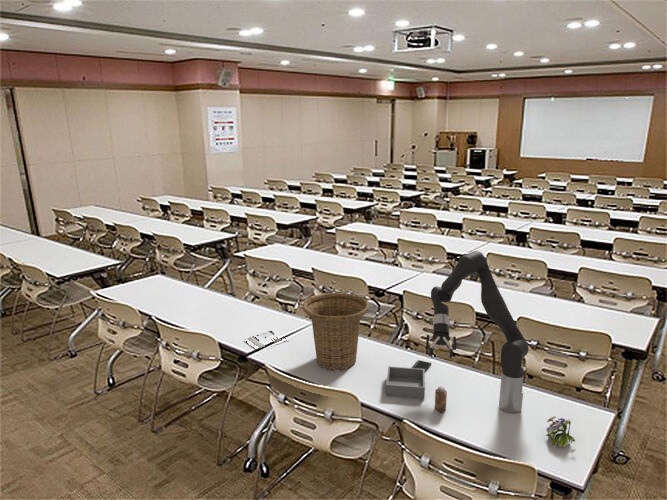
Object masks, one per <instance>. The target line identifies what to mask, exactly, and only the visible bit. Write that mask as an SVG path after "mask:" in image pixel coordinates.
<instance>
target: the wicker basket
mask: <svg viewBox="0 0 667 500" xmlns="http://www.w3.org/2000/svg"><path fill="white" fill-rule="evenodd" d="M369 305H370V304H369V302H368V301H367V300H366V299H365V298H363V297H361V296H358V295H357V294H356V295H355V294H351V293H344V292H341V293H340V292H332V293H330V292H329V293H323V294H318V295H314V296H311V297H309V298H307V299H306V300H304V302H303V304H302V311H303V313H304V314H305V315H306V316H308V317H310V318H311V325H312V332H313V333H312V334H313V340H314V341H313V342H314V348H315V349H314V350H315V356H316V357H315V358H316V363H317V364H318V366H319V367H322V369H328V370H329V371H332V370H334V371H339V370H340V369H341V370H342V371H343V370H346V369H351V367H352V366H354V365H355V363H356V362H357V361H356V360H357V354H358V344H359V336H360V327H361V325H360V323H361V317H362V316H364V315H366V314H367V313H368V311H369V308H370V306H369Z"/></svg>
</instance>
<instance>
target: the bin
mask: <svg viewBox="0 0 667 500" xmlns="http://www.w3.org/2000/svg"><path fill="white" fill-rule="evenodd" d="M387 368H388V369H387V376H386V382H385V397H391V398H392V397H393V398H402V399H403V398H406V399H415V400H416V399H418V400H425V398H426V397H425V392H426V381H425V377H426V376H425V369H418V368H412V367H401V366H390V365H389V366H388V367H387Z"/></svg>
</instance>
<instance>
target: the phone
mask: <svg viewBox="0 0 667 500" xmlns="http://www.w3.org/2000/svg"><path fill="white" fill-rule="evenodd" d="M431 367H432V363H431V362H427V361H424V360H417V361H415V363H414V364H413V365H412V366H411V368H418V369H425V373H426V372H427V371H429V369H430V368H431Z"/></svg>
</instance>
